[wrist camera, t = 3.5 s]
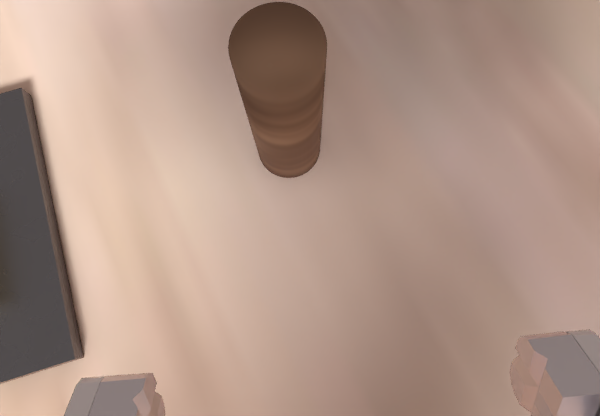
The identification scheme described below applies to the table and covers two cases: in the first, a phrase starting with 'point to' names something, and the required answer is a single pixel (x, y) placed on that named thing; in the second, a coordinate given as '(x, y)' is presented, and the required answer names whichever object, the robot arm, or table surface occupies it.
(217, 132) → the table surface
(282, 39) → the rail post
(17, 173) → the peg socket base
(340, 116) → the table surface
